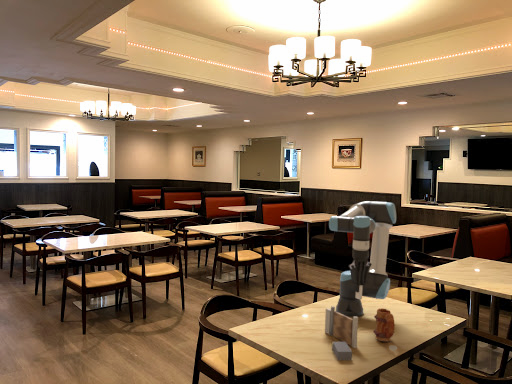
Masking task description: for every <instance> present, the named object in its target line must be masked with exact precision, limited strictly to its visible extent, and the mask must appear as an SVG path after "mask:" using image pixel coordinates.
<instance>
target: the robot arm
mask: <svg viewBox="0 0 512 384" xmlns="http://www.w3.org/2000/svg"><path fill="white" fill-rule="evenodd" d="M396 222H397V211H396V205H395V203H393V202H387V201H370V200H366V201H365V200H364V201H361V202H357V203H354V204H353V205H351V206H350V207H349V209H348V210H347V211H345V212H344V213H342V214H340V215H338V216H337V215H332V216H330V217H329V220H328V228H329V230H330V231H333V232H342V233H352V234H353V236H352V253H351V254H352V258H353V260H352V263H349V264H348V268H349V270H345V271H343V272H341V274H340V277H339V278H340V279H339V298H338V301H337V304H336V306H335V311H336V312H339V313H341V314H343V315H345V316H347V317H355V316H356V317H360V316H363V315H364V308H363V304H362V303H363V302H362V299H363V297H365V298H371V299H376V300H384V299H386V298H387V297H388V294H389V291H390V287H391V278H389V275H388V273H387V271H386V267H387V266H386V265H387V256H388V246H389V237H390V229H391V228H393V227H394V226H393V224H396ZM371 234H372V238H371V239H372V241H371V249H370V235H371ZM369 249H370V250H369ZM369 257H370V258H369ZM368 259H370V261H369V260H368Z"/></svg>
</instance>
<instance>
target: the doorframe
mask: <svg viewBox="0 0 512 384" xmlns="http://www.w3.org/2000/svg"><path fill="white" fill-rule="evenodd" d="M335 311H336V306H331V307H330V308H329V307H328V308H325V320H324V324H325V325H324V332H325V333H326V334H327V335H330V337H334V336H333V326H334V312H335ZM352 319H353V328H352V345H351V348H353V349H356V348H357V347H358V331H359V330H358V328H359V327H358V326H359V316H352Z"/></svg>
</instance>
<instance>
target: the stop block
mask: <svg viewBox="0 0 512 384" xmlns="http://www.w3.org/2000/svg"><path fill="white" fill-rule="evenodd" d="M331 350H332V352H333V354H334V357H335V358H336V359H337V361H353V351H352V349H351V348H350V345H349V344H347V343H346V342H343V341H332V346H331Z"/></svg>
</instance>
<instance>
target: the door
mask: <svg viewBox="0 0 512 384" xmlns="http://www.w3.org/2000/svg"><path fill="white" fill-rule="evenodd" d="M352 328H353V317H351V316H345V315H343V314H341V313H339V312H336V310H335V312H334V326H333V336H332V337H334V338H336V339H338V340H339V341H341V342H346V343H347V345H348V346H352Z"/></svg>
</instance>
